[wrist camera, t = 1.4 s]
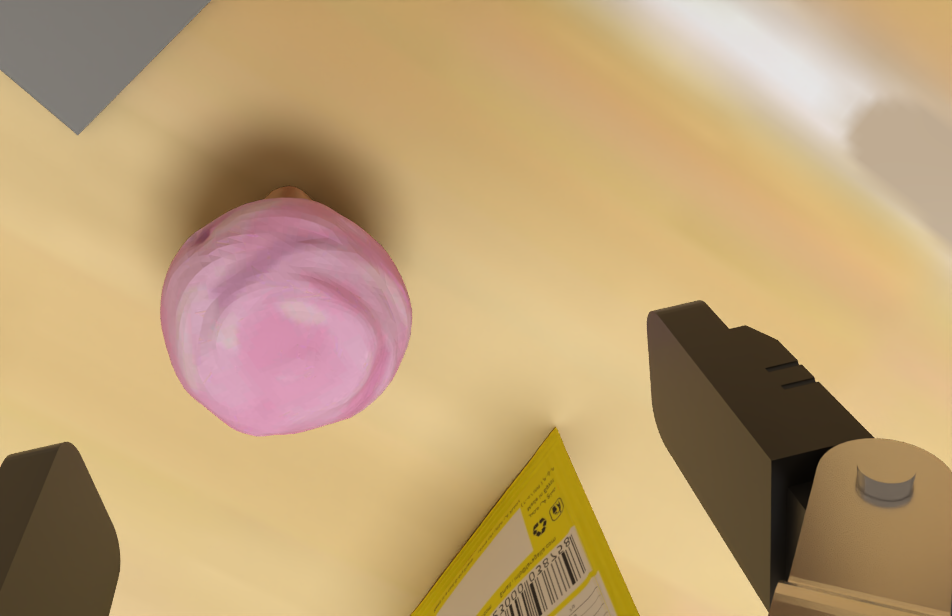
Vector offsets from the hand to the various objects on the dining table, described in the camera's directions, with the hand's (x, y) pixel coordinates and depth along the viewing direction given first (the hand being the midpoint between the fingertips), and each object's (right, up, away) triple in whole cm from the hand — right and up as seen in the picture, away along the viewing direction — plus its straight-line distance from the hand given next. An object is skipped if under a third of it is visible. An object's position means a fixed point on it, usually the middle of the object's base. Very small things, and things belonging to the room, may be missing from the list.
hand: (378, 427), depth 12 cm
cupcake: (-7, +4, +25) cm, 27 cm away
